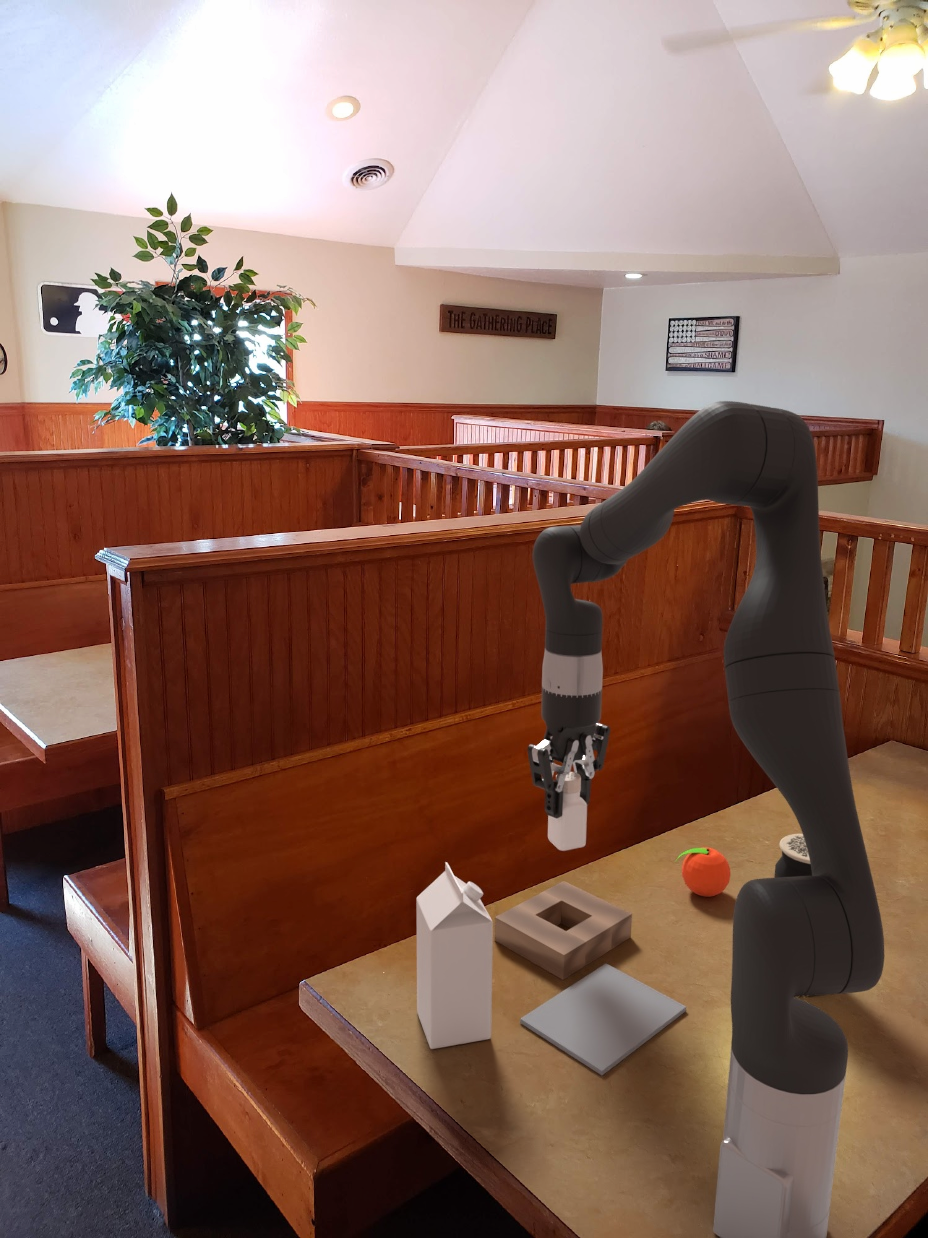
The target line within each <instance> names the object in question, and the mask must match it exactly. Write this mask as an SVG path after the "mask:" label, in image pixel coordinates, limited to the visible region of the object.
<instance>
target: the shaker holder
mask: <svg viewBox="0 0 928 1238" xmlns="http://www.w3.org/2000/svg"><path fill="white" fill-rule="evenodd" d="M632 923H633V913H631V912H629V911H627V910H625V909H623V908H621V907H619V906H618V905H615V904H613V903H610V902H609V901H606V900H605V899H602V898H601V897H599V896H596V895H594V894H592V893H589V892H588V891H586V890H584V889H581V888H580V887H577V886H575V885H573V884H571V883H569V882H567V881H565V880H562V881H560V882H559V883H556V884H554V885H553V886H551V887H549V888H547V889H545V890H544V891H541V892H540V893H537V894H536V895H534V896H532V897H530V898H528V899H526V900H525V901H523V902H520V903H518V904H517V905H514V907H511V908H509V909H507V910H505V911H504V912H502V913H500V914H498V915H496V916H494V941H495V942H497V943H498V944H500V945H502V946H503V947H505V948H507V949H509V950H511V951H512V952H514V953H515V954H518V955H519V956H521V957H523V958H524V959H526V960H528V961H529V962H531V963H532V964H534V965H537V966H538V967H539V968H542V969H543V970H545V971H547V972H548V973H550V974H552V975H554V976H555V977H557V978H559V979H561V980H562V981H563V980H565V979H568V977H570V976H572V975H573V974H575V973H576V972H578V971H580V970H581V969H584V968H585V967H586V966H588V965H589V964H591V963H593V962H594V961H595V960H597V959H599V958H600V957H602V956H604V955H605V954H607V953H609V952H610V951H612V949H614V948H616V947H618V946H619V945H621V944H622V943H623V942H625V941H627V940H629V939H630V938H631V937H632ZM560 924H561V925H563V926H565V927H567V928H569V929H568V930H564V929H563V928H561V927H559V925H560Z"/></svg>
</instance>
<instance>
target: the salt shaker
mask: <svg viewBox="0 0 928 1238" xmlns="http://www.w3.org/2000/svg"><path fill="white" fill-rule="evenodd" d="M556 777H557V774H556V775H555V778H556ZM562 791H563V811H562V816H561V817H559V818H554V817H551V816H549V815H547V816H548V817H547V818H548V819H547V820H548V821H547V838H548V841H549V842H550V843H551V844H553V846H554V847H556V849H557V850H559V851H563V852H565V851H571V850H574V849H575V850H576V849H579V848H584V847H585V846H586V843H587V822H588V821H587V817H588V805H587V804H586V802H585V801H584V800H583V799H582V798H581V797H580V791H581V776H580V775H579V774H577V773H575V771H570V773H569V774H568V775H566V777H565V781H564V785H563V789H562Z"/></svg>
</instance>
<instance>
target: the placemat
mask: <svg viewBox="0 0 928 1238" xmlns="http://www.w3.org/2000/svg"><path fill="white" fill-rule="evenodd" d="M686 1012H687V1006H686V1005H685V1004H682V1003H680V1002H678V1001H677V1000H675V999H673V998H672V997H669V996H668V995H665V994H664V993H661V992H660V991H658V990H656V989H654V988H652V987H651V986H649V985H647V984H645V983H643V982H641V981H639V980H637V979H636V978H634V977H632V976H631V975H629V974H627V973H625V972H623V971H622V970H619V969H618V968H616V967H614V966H611V965H610V964H607V963H604V964H603V965H601V966H599V967H598V968H596V969H595V970H593V971H592V972H590V973H588V974H586V976H584V977H583V978H581V979H579V980H578V981H576V982H574V983H573V984H572V985H570V986H569V987H567V988H565V989H564V990H562V991H561V992H559V993H557V994H556V995H555V996H553V997H552V998H550V999H548V1000H547V1001H545V1002H544V1003H542V1004H541V1005H539V1006H537V1007H536V1008H534V1009H533V1010H531V1011H530V1012H528V1013H527V1014H525V1015H524V1016H522V1017H521V1018H520V1020H519V1021H520V1022H519V1023H520V1024H521V1025H522V1026H524V1027H525V1028H527V1029H529V1030H530V1031H532V1032H534V1033H535V1034H537V1035H538V1036H540V1038H542V1039H544V1040H546V1041H547V1042H549V1043H550V1044H552V1045H554V1046H555V1047H557V1048H558V1049H559V1050H561V1051H563V1052H565V1053H566V1054H567V1055H569V1056H571V1057H572V1058H574V1059H575V1060H576V1061H579V1062H580V1063H582V1064H583V1065H584V1066H586V1067H587V1068H589V1069H591V1070H593V1071H594V1072H596V1073H597V1074H599V1076H604V1075H605V1074H606V1073H608V1072H609V1071H611V1069H613V1068H614V1067H615V1066H617V1065H618V1064H619V1063H620V1062H622V1061H623V1060H624V1059H626V1058H627V1057H628V1056H630V1055H631V1054H632V1053H634V1052H635V1051H636V1050H638V1049H639V1048H640V1047H641V1046H642V1045H644V1044H645V1043H647V1042H648V1041H649V1040H650V1039H651V1038H653V1037H654V1036H655V1035H657V1034H658V1033H659V1032H661V1031H662V1030H664V1029H665V1028H666V1027H667V1026H669V1025H670V1024H671V1023H673V1022H674V1021H675V1020H676V1019H678V1018H679V1017H680V1016H682V1015H683V1014H684V1013H686Z"/></svg>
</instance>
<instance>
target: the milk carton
mask: <svg viewBox="0 0 928 1238" xmlns="http://www.w3.org/2000/svg"><path fill="white" fill-rule="evenodd" d="M444 863H445V864H444V865H445V866H444V868H445V870H444V871H443V872H442V873H441V874H440V875H439V876H438V877H437V878H436V879H435V880H433V882H432V883H430V885H428V886H427V887H426V888H425V889H424V890H423V891H422V892H421V893H420V894H419V895H417V897H416V1012H417V1016H418V1018H419V1022H420V1024H421V1027H422V1030H423V1033H424V1035H425V1038H426V1041H427V1043H428V1047H429V1048H430V1050H434V1049H440V1048H447V1047H451V1046H456V1045H457V1046H458V1045H463V1044H468V1043H469V1044H470V1043H474V1042H479V1041H485V1040H490V1039H491V1038H492V1006H493V1005H492V1001H493V999H492V998H493V997H492V996H493V949H494V947H493V942H494V940H493V939H494V935H493V933H494V922H493V920H492V918H491V915H490V914H489V912H488V911H487V909H486V906H484V903H483V902H482V899H481V898H482V897H483V895H484V892H483V890H482V889H481V887H479V886H478V885H477V884H476V883H474V882H472V881H467V883H466V882H464V881H463V880H462V879H460V878H458V877H457V876H455V875H454V873H453V871H452V869H451V866H450V865H449V863H448V862H446V861H445V862H444Z"/></svg>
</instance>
